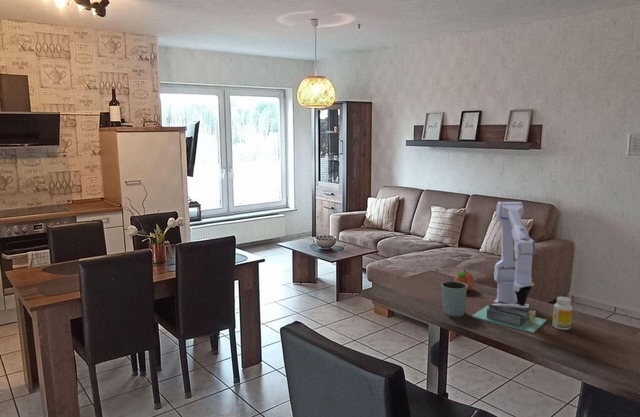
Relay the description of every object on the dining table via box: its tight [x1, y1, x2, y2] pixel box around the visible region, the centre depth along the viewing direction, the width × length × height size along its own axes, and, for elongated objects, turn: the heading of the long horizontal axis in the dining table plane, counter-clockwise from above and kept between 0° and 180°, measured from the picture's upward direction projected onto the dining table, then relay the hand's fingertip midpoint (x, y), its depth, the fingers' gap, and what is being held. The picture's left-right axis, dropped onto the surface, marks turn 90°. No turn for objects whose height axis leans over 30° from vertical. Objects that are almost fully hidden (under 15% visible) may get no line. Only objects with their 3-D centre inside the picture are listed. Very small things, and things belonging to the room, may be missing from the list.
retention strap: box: [491, 303, 530, 308], centre depth 191 cm, size 14×2×1 cm, turn 48°
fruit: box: [454, 269, 475, 291], centre depth 226 cm, size 9×10×10 cm
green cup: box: [440, 280, 467, 317], centre depth 199 cm, size 10×10×12 cm
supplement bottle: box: [551, 295, 573, 331], centre depth 183 cm, size 6×6×11 cm
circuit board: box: [471, 305, 547, 334], centre depth 192 cm, size 15×24×1 cm, turn 48°
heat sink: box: [487, 301, 537, 327], centre depth 191 cm, size 12×17×5 cm
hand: (521, 304), depth 188 cm, fingers closed, pressing on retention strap
